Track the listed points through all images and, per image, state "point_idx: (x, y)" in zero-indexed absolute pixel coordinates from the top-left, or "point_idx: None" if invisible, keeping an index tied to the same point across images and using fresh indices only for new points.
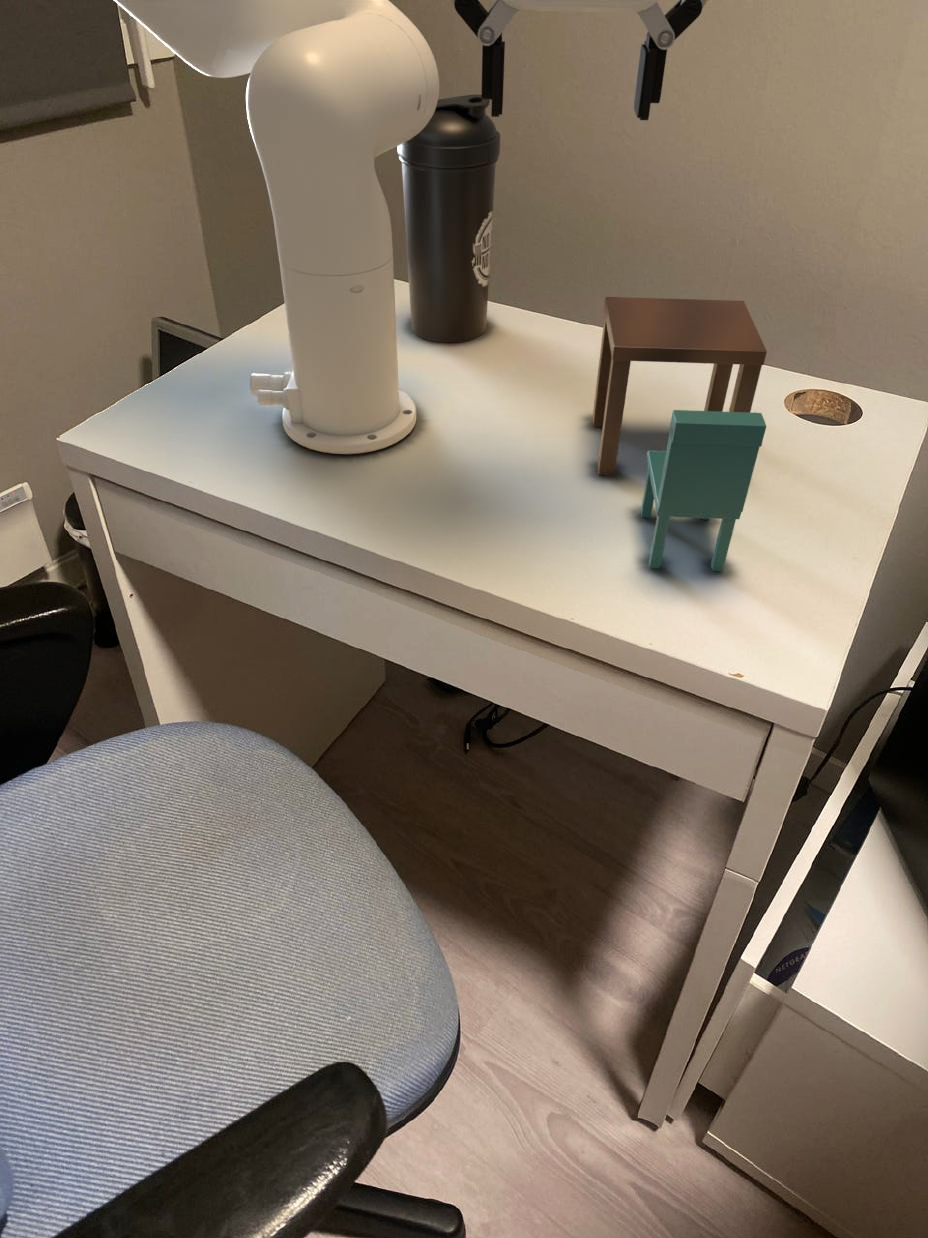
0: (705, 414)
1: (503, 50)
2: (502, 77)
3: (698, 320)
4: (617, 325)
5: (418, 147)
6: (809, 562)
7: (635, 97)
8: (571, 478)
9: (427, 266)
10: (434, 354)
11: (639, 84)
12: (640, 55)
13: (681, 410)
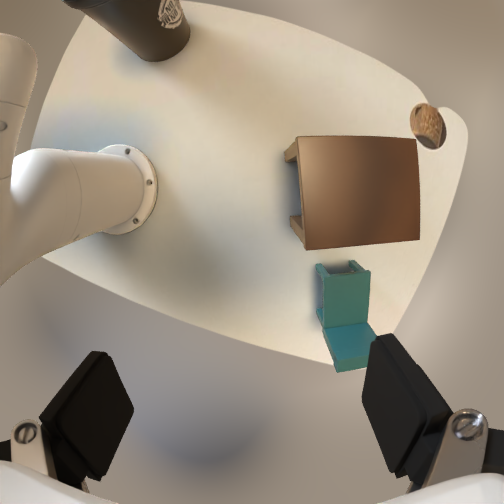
0: (356, 360)
1: (102, 474)
2: (116, 447)
3: (380, 185)
4: (309, 205)
5: (71, 2)
6: (393, 292)
7: (377, 359)
8: (272, 232)
9: (126, 40)
10: (155, 79)
11: (380, 410)
12: (407, 411)
13: (343, 359)
